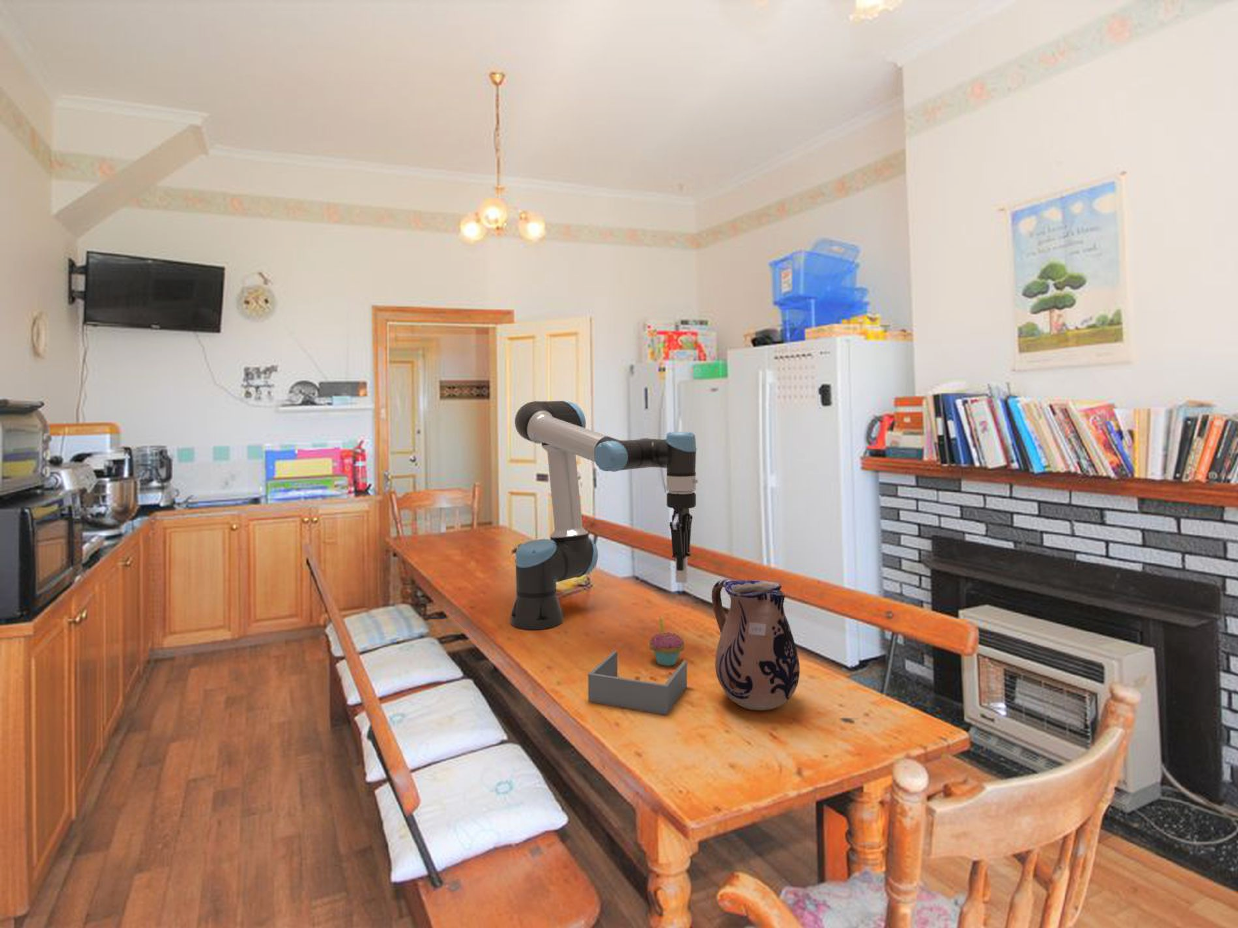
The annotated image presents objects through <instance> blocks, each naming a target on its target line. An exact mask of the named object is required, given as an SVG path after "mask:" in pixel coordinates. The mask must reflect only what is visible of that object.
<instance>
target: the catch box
mask: <svg viewBox="0 0 1238 928" xmlns="http://www.w3.org/2000/svg"><path fill="white" fill-rule="evenodd" d="M587 684H588V685H587V687H588V688H587V689H588V691H587V693H588V694H587V696H588V700H587V701H588V702H590V703H595V704H602V705H608V706H611V707H612V706H613V707H618V708H624V709H631V710H635V711H636V710H637V711H642V712H648V713H653V714H654V713H655V714H660V715H664V716H665V715H666V716H668V714H669V713H670V711H671V710H672V709H673V707H674V706H675V704H676V703H678V702H677V701H678V700H679V699H680V697H681V696H682V695H683V693H684V692H685V690H687V688H688V661H687V660H683V661H682V662H681V664H679V666H678V667H677V668H676V669H675V671H674V672H673V673H672V675H670V677H668V680H667V681H666V682H665V683H656V682H653V681H651V682H650V681H647V680H646V681H645V680H639V679H631V678H625V677H620V676H619V677H618V651H617V650H613V651H612V652H611V653H610V654H609V655H608V656H606V658H605V659H604V660H602V661H601V662H600V663H599V664H598V665H597V666H595V668H593V669H592V670H591V671H590V672H589V673H588V674H587Z"/></svg>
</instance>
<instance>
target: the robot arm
mask: <svg viewBox="0 0 1238 928" xmlns="http://www.w3.org/2000/svg"><path fill="white" fill-rule="evenodd" d="M514 425H515V426H514V427H515V429H516V431H517V433H518V435H520V437H521V438H523V439H524V440H526V441H529V442H531V443H534V444H539V445H541V448H542V449H543V450H545V451H546V453H547V462H548V473H549V474H548V475H549V482H550V483H549V484H550V494H551V495H550V496H551V507H552V517H553V524H554V525H553V528H554V530H553V532H552V533H551V534H550V535H549V536H550V537H549V539H548V538H547V539H546V538H542V539H541V538H540V539H532V540H529V541H526V542H524V543H521V544H520V545H519V546H518V547H517V548H516V552H515V561H514V565H515V583H516V584H515V585H516V587H515V588H516V589H515V590H516V597H515V600H514V604H513V606H512V610H511V614H510V624H511V625H512V626H513V627H515V628H518V629H523V630H545V629H551V628H555V627H557V626H559V625H561V624H562V623H563V620H564V617H563V616H564V615H563V610H562V607H561V605H560V601H559V598H558V596H557V583H558V582H559V583H560V582H563V581H567V580H571V579H575V578H576V579H578V578H581V577H583V576H585V575H588V574H590V573H592V571H593V570H594V569H595V568H596V565H597V563H598V558H599V552H598V551H599V550H598V547H597V545H596V544H595V540H593V539H592V538H591V537H589V532H588V530H587V529H585V528H584V527H583V519H582V518H583V517H582V505H581V498H580V487H579V485H580V484H579V476H578V464H577V456H578V457H580V458H583V459H586V460H588V461H591V462H594V463H595V465H596V466H597V467H598V469H599V470H601V471H604V472H613V473H614V472H619V471H625V470H626V471H627V470H635V469H636V470H637V469H647V468H660V469H661V468H663V469H666V491H668V492H667V493H666V507H667V508H670V509H673V513H672V515H671V521H669V528H670V535H671V549H672V556H671V557H672V559H673V558H674V559H675V583H680V584H681V583H682V584H686V583H688V557H691V555H692V554H691V553H690V552H691V534H692V533H691V532H692V523H693V515H691V513H690V509H693V508H696V506H697V494H696V493H695V492H694V491H696V489H697V487H696V485H697V483H699V482H698V481H699V480H698V479H696V478H697V477H696V475H697V473H696V465H697V464H696V461H697V444H696V443H697V442H696V434H694V433H693V432H692V431H669V432H667V433H666V438H665V439H662V438H649V437H648V438H647V437H646V438H636V439H625V440H624V439H623V440H620V439H617V438H615V437H611V436H608V435H606V434H603V433H600V432H597V431H594V430H592V429H588V428H586V427H587V423H586V417H585V413H584V412H583V410H582V409H581V407H580V406H578V404H576V403H575V402H572V401H565V400H556V401H555V400H553V401H552V400H551V401H550V400H548V401H539V400H534V401H529V402H526V403H524V404H523V405H522V406H521V407H520V408H519V409H518V410H517V412H516V415H515V417H514Z"/></svg>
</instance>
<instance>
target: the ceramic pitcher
mask: <svg viewBox="0 0 1238 928" xmlns="http://www.w3.org/2000/svg"><path fill="white" fill-rule="evenodd" d="M723 588H724V590H725V592H726V594H727V595H728V596H729V598H730V606H729V607H730V608H729V610H728V613H727V616H726V615H725V611H724V608H723V603H722V602H723V601H722V596H721V595H722V594H721V593H722V589H723ZM781 588H782V584H781V583H779V582H776V581H766V580H765V581H764V580H762V579H761V580H757V579H754V580H753V579H749V580H732V579H728V578H723V579H721V580H719V581H717V582H716V583H715V584H714V585H713V586H712V589H711V603H712V609H713V613H714V616H715V620H716V623H717V626H718V629H719V632H720V636H719V640H718V644H717V647H716V653H715V663H714V664H715V673H716V674H715V675H716V677H717V680H718V683H719V685H720V686H721V688H722V690H723V691H724V693H725V694H726V696H727V697H728V698H729V699H730V700H731V701H732V702H733V703H736V704H737V705H738V706H739V707H741V708H743V709H747V710H750V711H769V710H773V709H777V708H779V707H781V706H783V704H785V703H786V702H787V701H789V699H791V698H792V696H793V695H794V693H795V692H796V690H797V687H798V684H799V680H800V669H801V668H800V660H799V654H798V651H797V647H796V643H795V639H794V636H793V633H792V630H791V626H790V624H789V621H788V619H787V616H786V613H785V609H784V608H785V607H784V602H785V598H786V594H785V592H784V591H782V590H781Z"/></svg>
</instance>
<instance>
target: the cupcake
mask: <svg viewBox="0 0 1238 928" xmlns="http://www.w3.org/2000/svg"><path fill="white" fill-rule="evenodd" d="M663 625H664V623H663V619H662V618H661V615H659V628H660V633H658V634H655V635H654V636H653V637H652V638H651V639H650V640H649V648H650V650H651V651H653V653H654V656H655V659H656V662H657V664H659V665H660V666H664V667H665V666H667V667H668V666H674V665H675V664H677V662H678V658H679V655H680V653H682V652H683V651H684V650H685V641H684V640H683V638H682V637H681V636H679V635H678V634H676V633H675V632H673V633H672V632H664V626H663Z"/></svg>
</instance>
